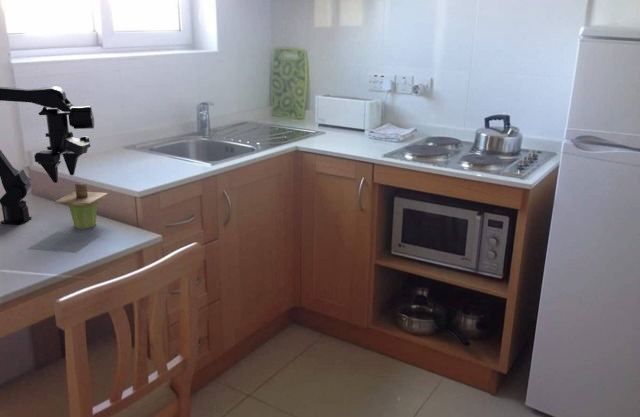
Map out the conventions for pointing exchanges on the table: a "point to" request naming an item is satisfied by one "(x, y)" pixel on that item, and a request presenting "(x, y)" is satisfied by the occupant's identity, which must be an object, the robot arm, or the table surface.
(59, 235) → the mat
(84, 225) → the plant pot
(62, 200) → the lid
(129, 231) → the table surface
